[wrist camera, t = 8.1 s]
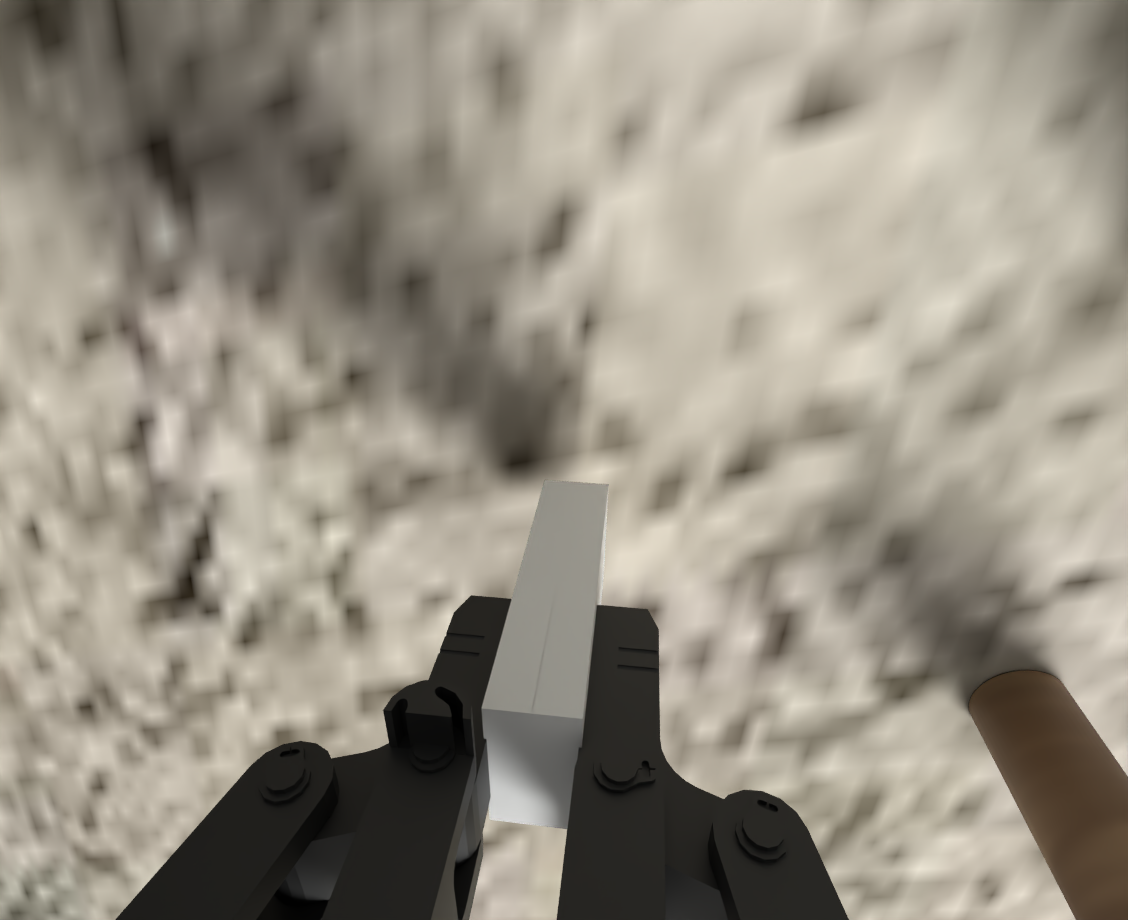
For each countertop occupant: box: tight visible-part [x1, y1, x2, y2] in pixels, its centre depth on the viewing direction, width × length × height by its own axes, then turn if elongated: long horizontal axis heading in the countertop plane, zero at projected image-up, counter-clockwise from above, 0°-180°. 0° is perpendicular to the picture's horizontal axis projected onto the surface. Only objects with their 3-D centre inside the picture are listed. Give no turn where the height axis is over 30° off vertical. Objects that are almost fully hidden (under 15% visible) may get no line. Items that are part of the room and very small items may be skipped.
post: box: [969, 670, 1128, 920], centre depth 15 cm, size 3×3×9 cm
